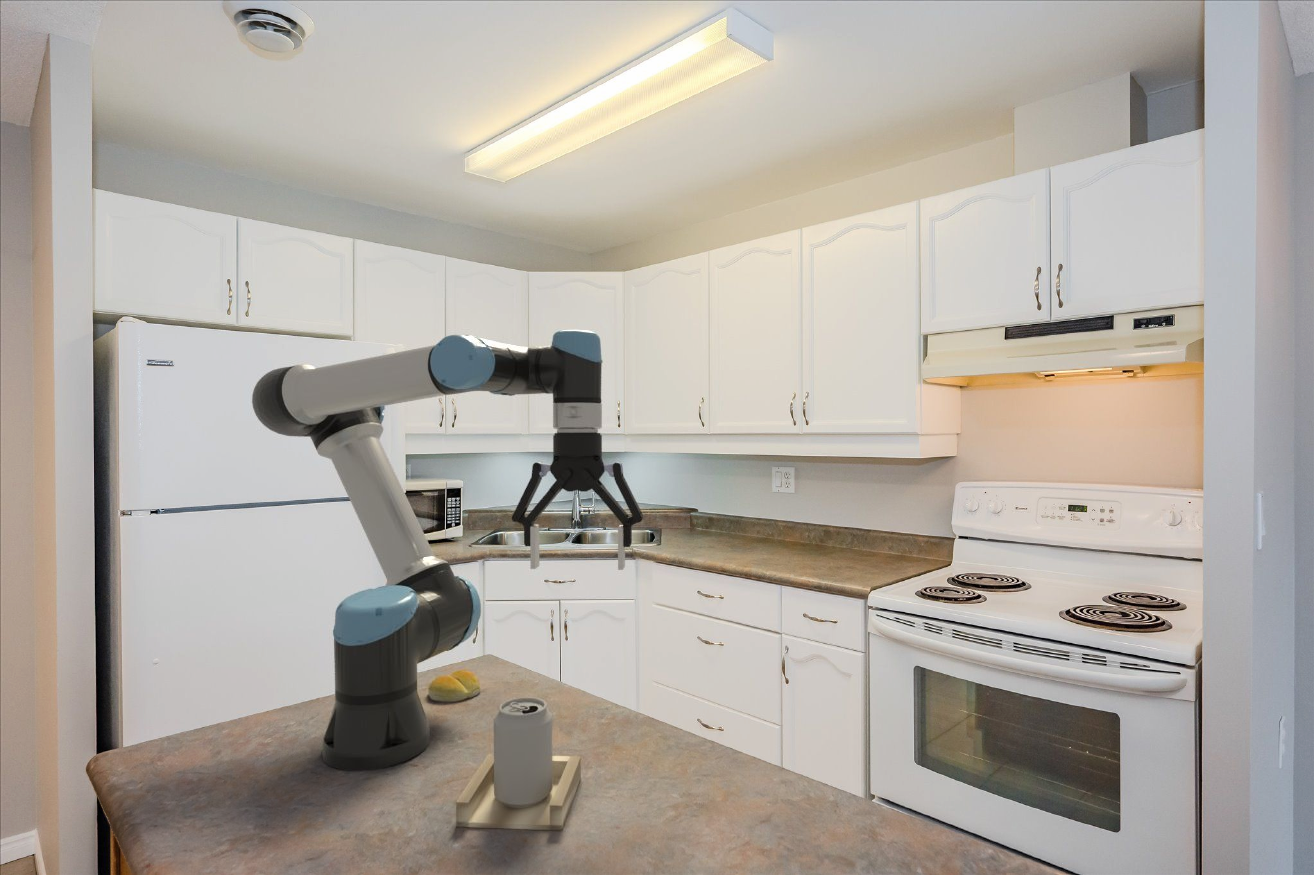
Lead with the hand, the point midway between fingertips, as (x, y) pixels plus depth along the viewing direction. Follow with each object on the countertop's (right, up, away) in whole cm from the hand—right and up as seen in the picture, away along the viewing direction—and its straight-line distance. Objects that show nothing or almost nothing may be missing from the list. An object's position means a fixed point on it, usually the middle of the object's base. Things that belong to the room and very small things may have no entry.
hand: (578, 567), depth 111 cm
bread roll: (-25, -27, +20) cm, 42 cm away
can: (-5, -27, -19) cm, 33 cm away
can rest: (-5, -27, -18) cm, 33 cm away
